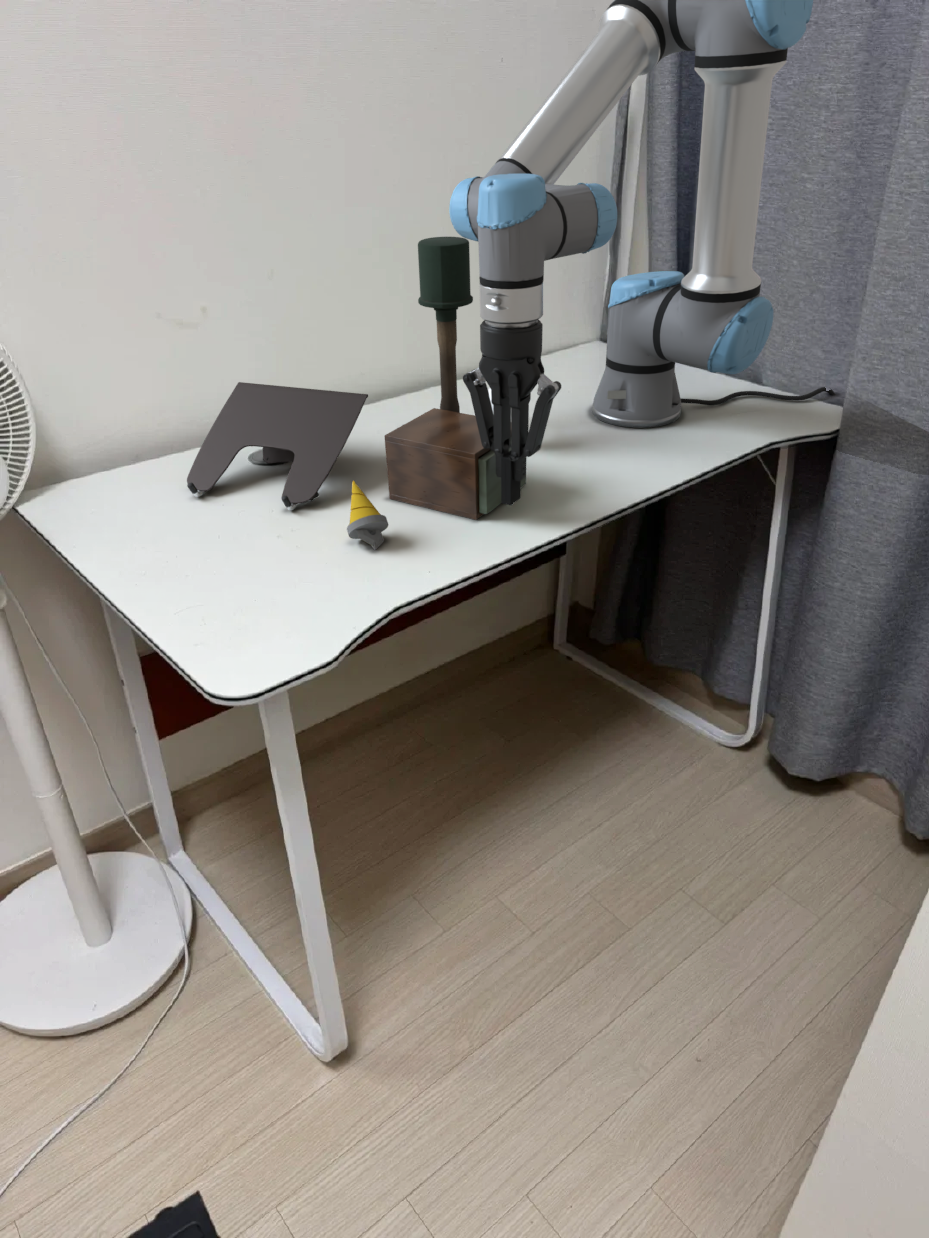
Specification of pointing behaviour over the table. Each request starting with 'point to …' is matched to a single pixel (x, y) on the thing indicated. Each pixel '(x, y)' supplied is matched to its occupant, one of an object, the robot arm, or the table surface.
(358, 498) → the drill bit
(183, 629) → the table surface
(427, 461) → the cabinet
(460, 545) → the table surface
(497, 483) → the drawer
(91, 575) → the table surface
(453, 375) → the stick grenade
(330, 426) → the laptop tray
